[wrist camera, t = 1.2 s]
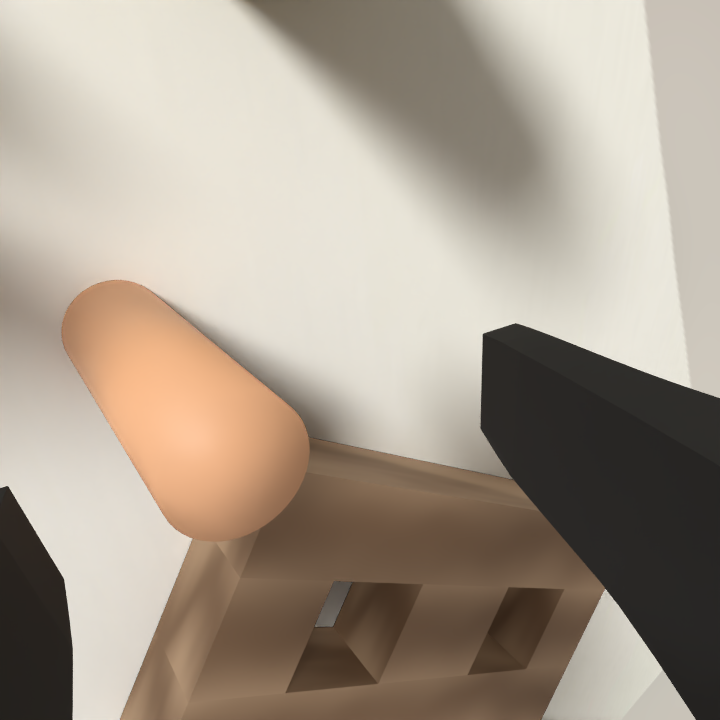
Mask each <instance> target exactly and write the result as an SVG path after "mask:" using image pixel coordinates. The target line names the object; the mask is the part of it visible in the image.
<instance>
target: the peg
mask: <svg viewBox="0 0 720 720" xmlns="http://www.w3.org/2000/svg"><path fill="white" fill-rule="evenodd" d="M62 341H63V345H64V348H65V350H66V352H67V354H68V356H69V358H70V359H71V361H72V363H73V364H74V366H75V368H76V369H77V371H78V373H79V374H80V376H81V378H82V379H83V381H84V383H85V384H86V386H87V388H88V389H89V391H90V393H91V394H92V396H93V398H94V399H95V401H96V403H97V404H98V406H99V408H100V409H101V411H102V413H103V414H104V416H105V418H106V419H107V421H108V423H109V424H110V426H111V428H112V430H113V431H114V433H115V435H116V436H117V438H118V440H119V441H120V443H121V445H122V446H123V448H124V450H125V451H126V453H127V455H128V456H129V458H130V460H131V461H132V463H133V465H134V466H135V468H136V470H137V471H138V473H139V475H140V476H141V478H142V480H143V481H144V483H145V485H146V486H147V488H148V490H149V491H150V493H151V495H152V496H153V498H154V500H155V501H156V503H157V505H158V506H159V508H160V510H161V511H162V513H163V515H164V516H165V518H166V519H167V521H168V522H169V523H170V524H171V525H172V526H173V527H174V528H175V529H176V530H178V531H179V532H181V533H182V534H184V535H186V536H188V537H190V538H194V539H197V540H201V541H208V542H219V541H228V540H232V539H236V538H240V537H243V536H245V535H248V534H250V533H252V532H254V531H256V530H258V529H260V528H261V527H263V526H265V525H266V524H267V523H269V522H270V521H271V520H273V519H274V518H275V517H276V516H277V515H278V514H280V513H281V512H282V511H283V510H284V508H285V507H286V506H287V505H288V504H289V503H290V501H291V500H292V499H293V497H294V496H295V494H296V493H297V491H298V489H299V488H300V485H301V483H302V481H303V479H304V476H305V474H306V471H307V466H308V462H309V454H310V446H309V438H308V433H307V430H306V427H305V425H304V423H303V421H302V419H301V418H300V416H299V415H298V414H297V412H296V411H295V410H294V409H293V408H292V407H290V406H289V405H288V404H287V403H286V402H284V401H283V400H282V399H281V398H280V397H278V396H277V395H276V394H275V393H274V392H272V391H271V390H270V389H269V388H267V387H266V386H265V385H264V384H263V383H261V382H260V381H259V380H258V379H257V378H255V377H254V376H253V375H252V374H250V373H249V372H248V371H247V370H246V369H244V368H243V367H242V366H241V365H240V364H238V363H237V362H236V361H235V360H233V359H232V358H231V357H230V356H229V355H227V354H226V353H225V352H224V351H223V350H221V349H220V348H219V347H218V346H217V345H215V344H214V343H213V342H212V341H210V340H209V339H208V338H207V337H206V336H204V335H203V334H202V333H201V332H200V331H198V330H197V329H196V328H195V327H193V326H192V325H191V324H190V323H189V322H187V321H186V320H185V319H184V318H183V317H181V316H180V315H179V314H178V313H177V312H175V311H174V310H173V309H172V308H170V307H169V306H168V305H167V304H166V303H164V302H163V301H162V300H161V299H160V298H158V297H157V296H156V295H155V294H153V293H152V292H151V291H150V290H148V289H147V288H145V287H143V286H142V285H139V284H137V283H134V282H130V281H124V280H111V281H105V282H101V283H98V284H96V285H93V286H91V287H89V288H87V289H86V290H84V291H83V292H82V293H80V294H79V295H78V296H77V297H76V298H75V299H74V300H73V302H72V303H71V304H70V306H69V307H68V309H67V311H66V313H65V315H64V319H63V322H62Z"/></svg>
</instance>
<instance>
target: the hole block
mask: <svg viewBox="0 0 720 720" xmlns="http://www.w3.org/2000/svg"><path fill="white" fill-rule="evenodd" d="M308 438H309V446H310V454H309V462H308V466H307V471H306V474H305V476H304V479H303V481H302V483H301V485H300V488H299V489H298V491H297V493H296V494H295V496H294V497H293V499H292V500H291V501H290V503H289V504H288V505H287V506H286V507H285V508H284V510H283V511H282V512H281V513H280V514H278V515H277V516H276V517H275V518H274V519H273V520H271V521H270V522H269V523H267V524H266V525H265V526H263V527H261V528H260V529H258V530H256V531H254V532H252V533H250V534H248V535H245V536H243V537H240V538H236V539H232V540H228V541H219V542H208V541H201V540H197V539H194V538H193V540H192V542H191V545H190V547H189V550H188V552H187V554H186V557H185V559H184V562H183V564H182V567H181V569H180V572H179V574H178V577H177V579H176V582H175V584H174V587H173V589H172V592H171V594H170V597H169V599H168V602H167V604H166V607H165V609H164V611H163V614H162V616H161V619H160V621H159V624H158V626H157V629H156V631H155V634H154V636H153V639H152V641H151V644H150V646H149V649H148V651H147V654H146V656H145V659H144V661H143V664H142V666H141V668H140V671H139V673H138V676H137V678H136V681H135V683H134V686H133V688H132V691H131V693H130V696H129V698H128V701H127V703H126V706H125V708H124V711H123V713H122V716H121V718H120V720H541V719H542V717H543V715H544V713H545V711H546V709H547V707H548V704H549V702H550V700H551V698H552V696H553V694H554V692H555V690H556V688H557V686H558V684H559V682H560V680H561V678H562V676H563V674H564V672H565V670H566V668H567V666H568V663H569V661H570V659H571V657H572V655H573V653H574V651H575V649H576V647H577V645H578V643H579V641H580V639H581V637H582V635H583V633H584V631H585V629H586V627H587V624H588V622H589V620H590V618H591V616H592V614H593V612H594V610H595V608H596V606H597V604H598V602H599V600H600V598H601V596H602V594H603V592H604V590H605V587H604V586H603V585H602V583H601V582H600V581H599V580H598V579H597V577H596V576H595V575H594V574H593V573H592V572H591V570H590V569H589V568H588V567H587V566H586V565H585V563H584V562H583V561H582V560H581V559H580V558H579V556H578V555H577V554H576V553H575V552H574V551H573V549H572V548H571V547H570V546H569V545H568V544H567V542H566V541H565V540H564V539H563V538H562V536H561V535H560V534H559V533H558V532H557V531H556V529H555V528H554V527H553V526H552V525H551V524H550V522H549V521H548V520H547V519H546V518H545V517H544V515H543V514H542V513H541V512H540V511H539V510H538V508H537V507H536V506H535V505H534V504H533V502H532V501H531V500H530V499H529V498H528V496H527V495H526V494H525V493H524V492H523V490H522V489H521V488H520V487H519V486H518V484H517V483H516V482H515V481H514V480H512V479H507V478H502V477H497V476H492V475H488V474H483V473H478V472H473V471H468V470H464V469H459V468H454V467H449V466H444V465H439V464H435V463H430V462H425V461H420V460H415V459H411V458H406V457H401V456H396V455H391V454H387V453H382V452H377V451H372V450H367V449H363V448H358V447H353V446H348V445H343V444H338V443H334V442H329V441H324V440H319V439H314V438H310V437H308ZM334 581H344V582H353V583H352V585H351V588H350V590H349V592H348V594H347V597H346V599H345V601H344V604H343V606H342V608H341V610H340V613H339V615H338V617H337V620H336V622H335V624H334V626H333V627H314V626H315V624H316V621H317V619H318V617H319V614H320V612H321V610H322V607H323V605H324V603H325V600H326V598H327V596H328V594H329V591H330V589H331V587H332V584H333V582H334Z"/></svg>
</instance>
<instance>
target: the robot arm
mask: <svg viewBox="0 0 720 720" xmlns="http://www.w3.org/2000/svg"><path fill="white" fill-rule="evenodd" d="M481 430H482V432H483V433H484V435H485V437H486V438H487V440H488V441H489V443H490V445H491V446H492V448H493V450H494V451H495V453H496V454H497V456H498V457H499V459H500V460H501V462H502V463H503V465H504V466H505V468H506V470H507V471H508V473H509V474H510V476H511V477H512V478H513V480H514V481H515V482H516V483H517V484H518V486H519V487H520V488H521V489H522V490H523V492H524V493H525V494H526V495H527V496H528V498H529V499H530V500H531V501H532V502H533V504H534V505H535V506H536V507H537V508H538V510H539V511H540V512H541V513H542V514H543V515H544V517H545V518H546V519H547V520H548V521H549V522H550V524H551V525H552V526H553V527H554V528H555V529H556V531H557V532H558V533H559V534H560V535H561V536H562V538H563V539H564V540H565V541H566V542H567V544H568V545H569V546H570V547H571V548H572V549H573V551H574V552H575V553H576V554H577V555H578V556H579V558H580V559H581V560H582V561H583V562H584V563H585V565H586V566H587V567H588V568H589V569H590V570H591V572H592V573H593V574H594V575H595V576H596V577H597V579H598V580H599V581H600V582H601V583H602V585H603V586H604V587H605V589H606V590H607V591H608V592H609V594H610V595H611V596H612V597H613V599H614V600H615V601H616V603H617V604H618V605H619V607H620V608H621V609H622V611H623V612H624V614H625V615H626V617H627V618H628V619H629V621H630V622H631V624H632V625H633V627H634V628H635V629H636V631H637V632H638V634H639V635H640V637H641V638H642V640H643V641H644V642H645V644H646V645H647V647H648V648H649V650H650V651H651V652H652V654H653V655H654V657H655V658H656V660H657V661H658V663H659V664H660V666H661V667H662V669H663V670H664V672H665V673H666V675H667V676H668V678H669V679H670V681H671V682H672V684H673V685H674V687H675V688H676V690H677V691H678V693H679V694H680V696H681V698H682V699H683V700H684V702H685V704H686V705H687V707H688V708H689V710H690V711H691V713H692V714H693V716H694V717H695V719H696V720H720V398H717V397H714V396H711V395H708V394H705V393H702V392H699V391H696V390H693V389H690V388H687V387H684V386H681V385H678V384H676V383H673V382H670V381H667V380H664V379H662V378H659V377H656V376H653V375H651V374H648V373H645V372H643V371H640V370H637V369H635V368H632V367H629V366H627V365H624V364H622V363H619V362H616V361H614V360H611V359H609V358H606V357H604V356H601V355H599V354H596V353H594V352H591V351H589V350H586V349H584V348H581V347H578V346H576V345H573V344H571V343H568V342H566V341H563V340H561V339H558V338H556V337H553V336H550V335H548V334H545V333H543V332H540V331H537V330H534V329H532V328H529V327H526V326H523V325H520V324H516V323H515V324H512V325H509V326H506V327H503V328H499V329H496V330H493V331H490V332H487V333H484V334H483V351H482V390H481ZM72 712H73V647H72V638H71V629H70V620H69V612H68V605H67V597H66V590H65V583H64V578H63V577H62V575H61V573H60V572H59V570H58V568H57V567H56V565H55V563H54V562H53V560H52V559H51V557H50V555H49V554H48V552H47V550H46V549H45V547H44V545H43V544H42V542H41V540H40V539H39V537H38V535H37V534H36V532H35V530H34V529H33V527H32V525H31V524H30V522H29V520H28V519H27V517H26V515H25V514H24V512H23V510H22V509H21V507H20V505H19V504H18V502H17V500H16V499H15V497H14V495H13V494H12V492H11V490H10V489H9V487H8V486H6V487H3V488H0V720H72Z"/></svg>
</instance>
